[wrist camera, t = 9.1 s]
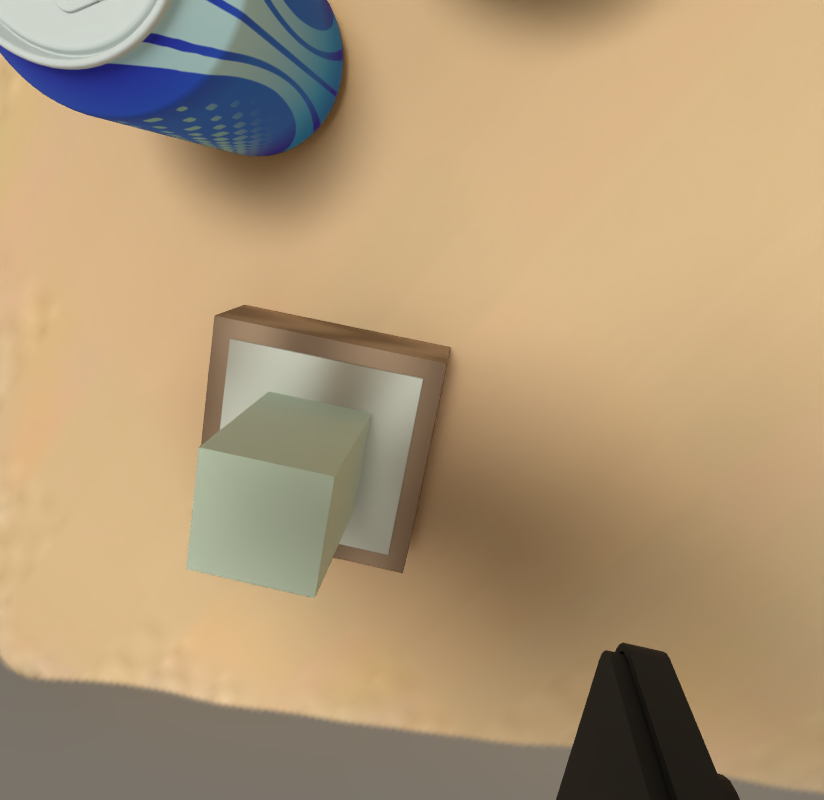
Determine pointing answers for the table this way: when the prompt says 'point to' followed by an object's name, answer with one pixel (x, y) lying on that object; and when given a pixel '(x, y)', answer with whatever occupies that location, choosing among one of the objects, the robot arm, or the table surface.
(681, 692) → the robot arm
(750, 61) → the table surface
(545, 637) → the table surface
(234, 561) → the green block
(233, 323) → the base block
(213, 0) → the beer can
